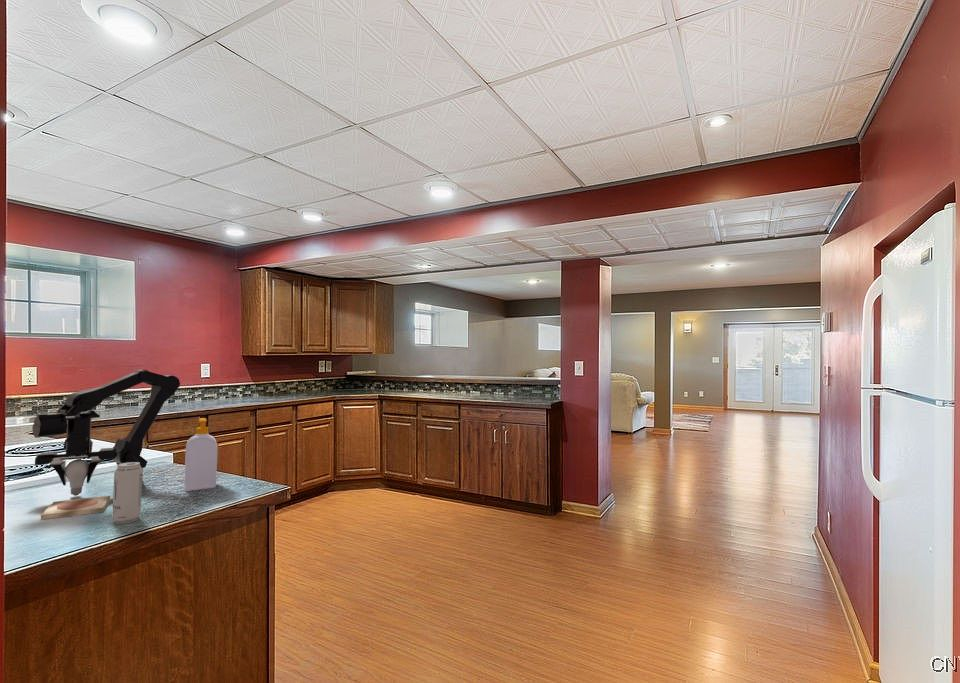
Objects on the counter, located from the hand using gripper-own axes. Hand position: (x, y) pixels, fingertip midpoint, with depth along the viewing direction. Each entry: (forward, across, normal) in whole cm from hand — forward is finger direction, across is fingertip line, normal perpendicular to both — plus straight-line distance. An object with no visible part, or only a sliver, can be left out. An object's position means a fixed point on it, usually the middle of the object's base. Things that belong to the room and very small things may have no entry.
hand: (76, 484), depth 146 cm
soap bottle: (+4, -33, +5) cm, 34 cm away
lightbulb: (+4, 0, 0) cm, 4 cm away
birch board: (+4, -3, +15) cm, 16 cm away
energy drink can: (+4, -16, +33) cm, 37 cm away
